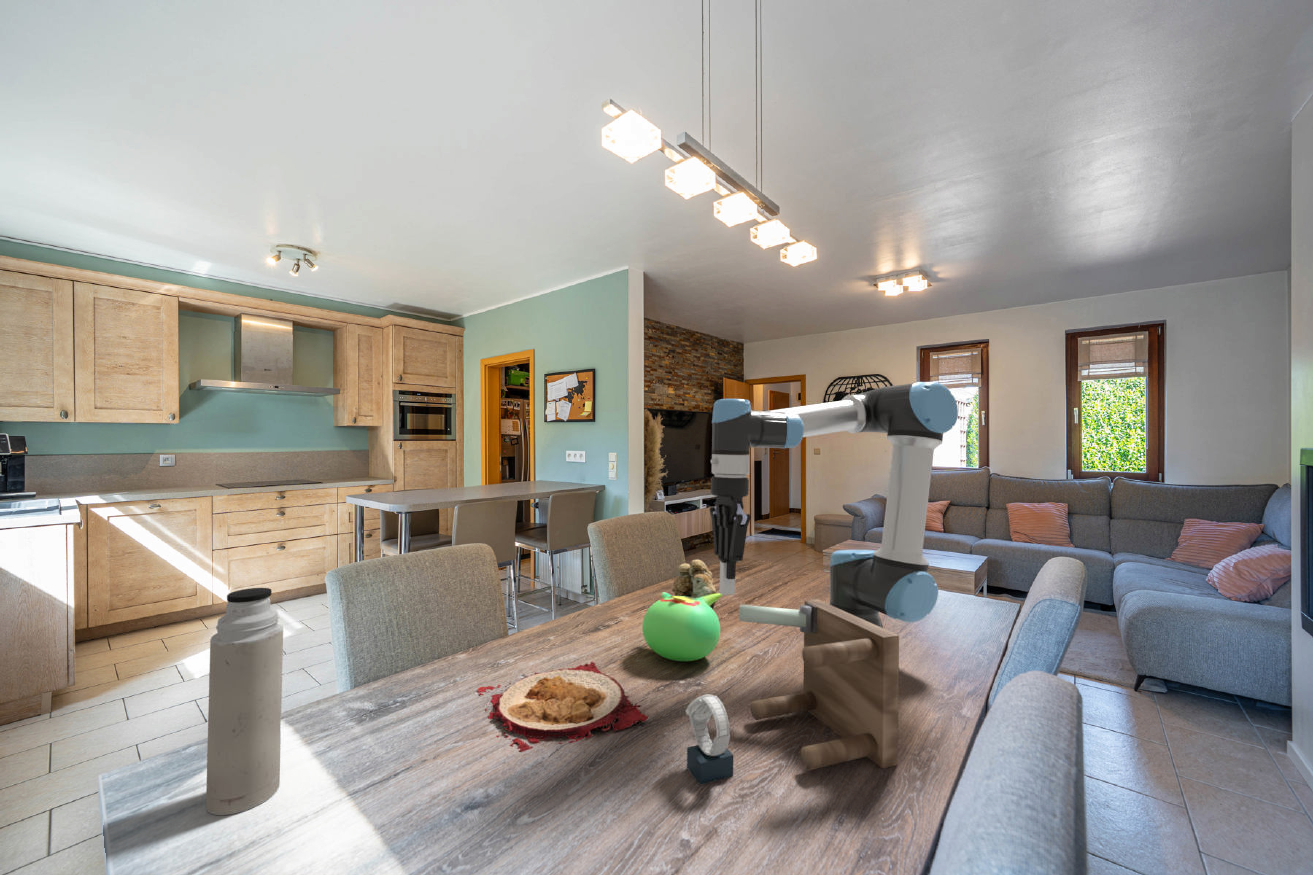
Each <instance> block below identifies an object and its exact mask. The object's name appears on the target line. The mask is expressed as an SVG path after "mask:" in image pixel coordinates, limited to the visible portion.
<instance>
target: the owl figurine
mask: <svg viewBox="0 0 1313 875" xmlns="http://www.w3.org/2000/svg"><path fill="white" fill-rule="evenodd" d="M689 562H690V563H686V562H685V563H682V564H679V565H678V568H677V570H678V575H677V576H676V577H675V579H674V581H673V587H672V588H671V591H672V592H674V596H686V597H693V598H700V597H703V596H707V595H711V594H716V593H717V590H716V586H715V585H714V583H715V582H714V579H713V578H714V577H713V572H711V571H710V570H709V569H708V566H707V565H706V564H705V562H704V561H703V560H700V559H692V561H689ZM716 602H717V601H715V602H714V603H713V604H711V605H710V607H711V608H712V609H713V610H714V608H715V605H716ZM719 622H720V623H721V620H719Z"/></svg>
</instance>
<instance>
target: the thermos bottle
mask: <svg viewBox="0 0 1313 875" xmlns="http://www.w3.org/2000/svg"><path fill="white" fill-rule="evenodd" d="M271 595H272V588H269V587H252V588H251V587H250V588H246V589H245V588H243V589H239V590H236V591H232V592H229V593H228V594H227V595H226V601H227V604H226V606H225V614H224V615H223V616H221V617H220V618H219V619H217V625H216V627H215V628H216V632H217V633H215V634H214V635H212V636H211V637H210V640H209V643H210V644H209V645H210V646H209V679H208V711H207V712H208V713H207V714H208V716H207V753H206V754H207V755H206V756H207V757H206V790H205V791H206V794H205V795H206V798H205V800H206V801H205V808H206V811H207V812H208V813H210V814H212V815H215V816H227V815H234V814H239V813H243V812H245V811H248V810H251V809H254V808H255V807H258V806H259V805H261V804H263V803H265V802H266V801H268V800H269V799H271V798H272V797H273V796H274V795H275V794H276V793H277V791H278V790H279V788H280V783H281V781H280V778H281V744H282V743H281V739H282V738H281V725H282V724H281V722H282V704H283V703H282V696H283V694H282V693H283V663H284V662H283V660H284V659H283V658H284V657H283V656H284V653H283V652H284V627H283V625H282V624H280V623H278V622H279V619H280V615H279V614H278V611H277V610H276V609H273V608H271V599H270V597H271Z"/></svg>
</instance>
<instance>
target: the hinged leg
mask: <svg viewBox="0 0 1313 875" xmlns="http://www.w3.org/2000/svg"><path fill="white" fill-rule="evenodd" d="M738 613H739V614H738V621H739V622H745V623H756V624H766V625H767V624H768V625H776V626H783V627H784V626H786V627H797V628H799V632H800V633H803V634H804V633H811V617H812V607H810V606H807V605H800V606H799V609H796V608H795V609H794V608H793V609H792V608H784V607H783V608H781V607H772V606H760V605H750V604H740V605H739V610H738Z"/></svg>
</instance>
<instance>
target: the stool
mask: <svg viewBox="0 0 1313 875" xmlns="http://www.w3.org/2000/svg"><path fill="white" fill-rule="evenodd" d="M804 605H807V606H810V607H812V617H811V633H803V649H802V651H801V656H802V660H803V686H802V687H803V689H802V692H796V693H792V694H785V695H780V696H779V695H778V696H774V697H767V698H763V699H757V700H756V699H755V700H752V701H751V702H750V705H749V706H750V707H749V708H750V713H751V715H752V718H753V719H754V721H755V720H756V721H757V720H763V719H764V720H765V719H770V718H774V717H779V716H785V715H789V714H794V713H795V714H796V713H800V712H805V711H806V712H809V714H811V715H812V716H813V717H815V718H816V719H818V720H819V721H820V722H822V723H823V724H824V725H826V726H827V727H828V728H829V729H831V730H832V731H833V732H834V733H836V734H837V735H838V736H840V737H841V738H837V739H833V740H828V741H824V742H819V743H816V744H811V745H805V746H803V747H801V749H800V756H801V757H800V758H801V760H802V763H803V765H804V766H805V768H806V769H807V770H809V771H811V770H815V769H818V768H819V769H820V768H824V767H828V766H833V765H836V764H841V763H844V762H848V761H853V760H856V759H862V758H865V757H867V758H868V759H869V760H871V761H872V762H873V763H875V764H876V765H877V766H879V767H880V768H881V769H887V768H892V767H895V766H898V765H899V752H898V751H899V693H900V692H899V686H900V684H899V682H900V681H899V679H900V676H899V674H900V672H899V670H900V667H899V666H900V635H899V634H897V633H894V632H892V631H890V630H887V629H885V628H884V627H883V628H881V627H879V626H877V625H874V624H872V623H870V622H868V621H865V620H863V619H861V618H859V617H856V616H854V615H852V614H850V613H847V612H845V611H843V610H841V609H838V608H836V607H834V606H831V605H830V603H828V602H827V603H826V601H825V602H824V601H822V600H820V599H810V600H804Z"/></svg>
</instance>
